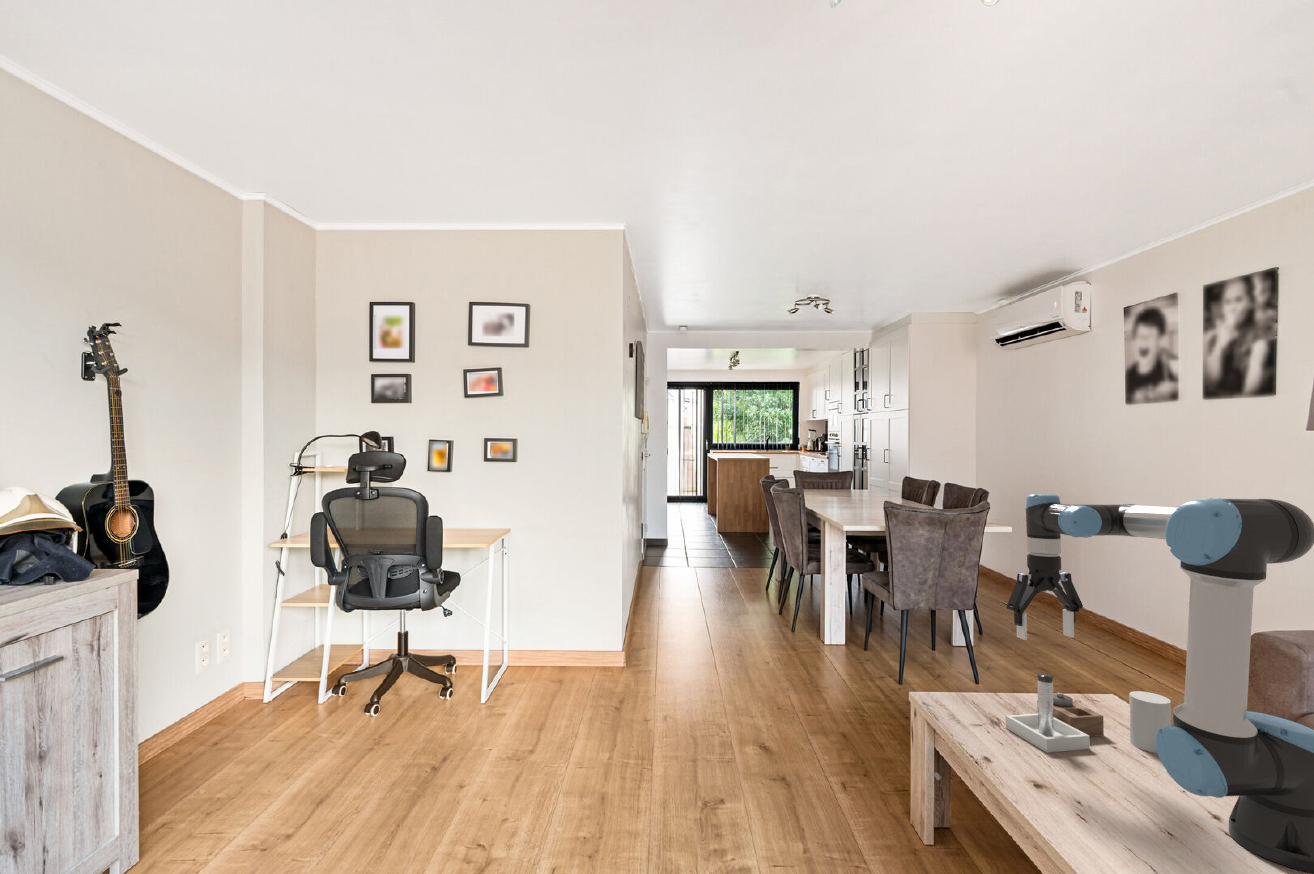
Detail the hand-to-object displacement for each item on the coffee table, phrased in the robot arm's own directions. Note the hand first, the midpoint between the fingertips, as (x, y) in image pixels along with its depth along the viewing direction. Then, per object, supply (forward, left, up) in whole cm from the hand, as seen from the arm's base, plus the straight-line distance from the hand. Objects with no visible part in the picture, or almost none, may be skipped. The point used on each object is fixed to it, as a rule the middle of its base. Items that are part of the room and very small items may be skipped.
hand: (1045, 637), depth 162 cm
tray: (0, 0, -26) cm, 26 cm away
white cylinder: (-8, -23, -26) cm, 35 cm away
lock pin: (0, 0, -25) cm, 25 cm away
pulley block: (+5, -12, -26) cm, 29 cm away
